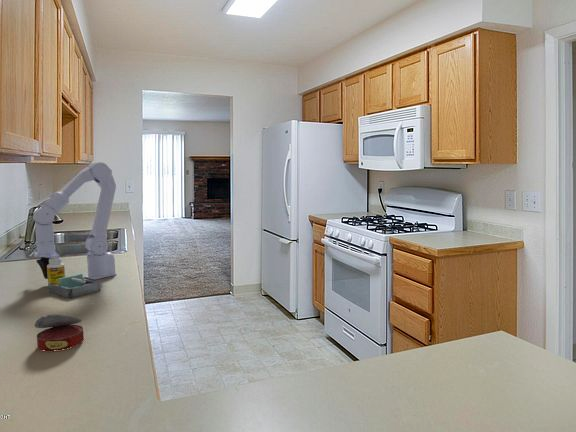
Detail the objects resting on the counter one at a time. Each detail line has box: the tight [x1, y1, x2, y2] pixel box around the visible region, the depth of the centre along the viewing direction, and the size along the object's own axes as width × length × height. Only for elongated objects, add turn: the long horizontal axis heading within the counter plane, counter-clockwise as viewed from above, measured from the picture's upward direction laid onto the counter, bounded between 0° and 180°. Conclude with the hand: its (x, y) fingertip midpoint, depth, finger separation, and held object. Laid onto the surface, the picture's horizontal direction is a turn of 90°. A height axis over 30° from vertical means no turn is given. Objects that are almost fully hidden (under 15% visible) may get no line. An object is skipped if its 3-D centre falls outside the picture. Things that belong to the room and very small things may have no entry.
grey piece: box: [47, 277, 101, 299], centre depth 151 cm, size 11×14×3 cm
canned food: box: [34, 314, 85, 351], centre depth 105 cm, size 11×10×10 cm
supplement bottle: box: [47, 257, 66, 288], centre depth 158 cm, size 6×6×10 cm
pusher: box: [59, 273, 86, 288], centre depth 150 cm, size 8×9×5 cm
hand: (48, 278), depth 162 cm, fingers closed
